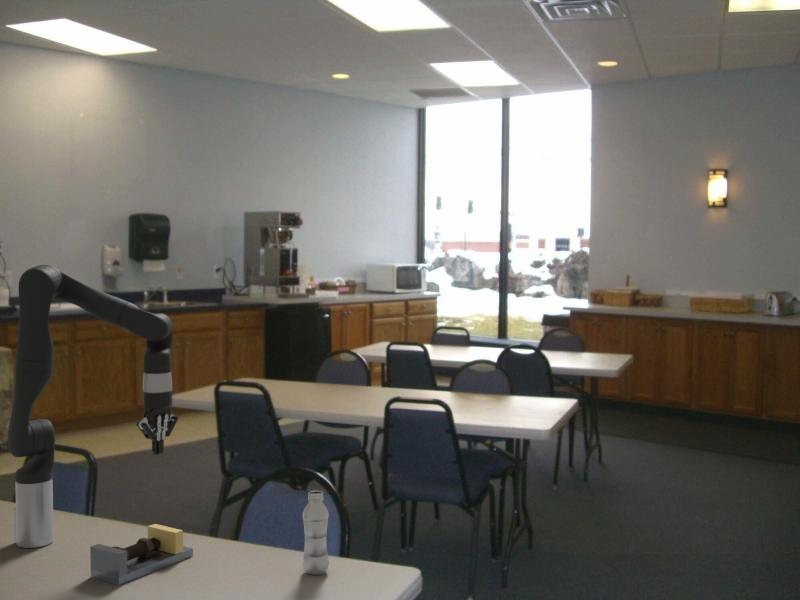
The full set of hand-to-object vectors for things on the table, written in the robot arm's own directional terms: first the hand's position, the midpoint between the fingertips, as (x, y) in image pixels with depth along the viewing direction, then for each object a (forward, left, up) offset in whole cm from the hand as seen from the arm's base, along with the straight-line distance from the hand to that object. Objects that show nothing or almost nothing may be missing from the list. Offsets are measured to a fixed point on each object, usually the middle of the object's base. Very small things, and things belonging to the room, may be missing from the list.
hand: (158, 453), depth 232 cm
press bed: (+8, -13, -25) cm, 29 cm away
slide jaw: (+8, -5, -23) cm, 25 cm away
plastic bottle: (+47, +7, -25) cm, 54 cm away
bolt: (+7, -14, -23) cm, 28 cm away
